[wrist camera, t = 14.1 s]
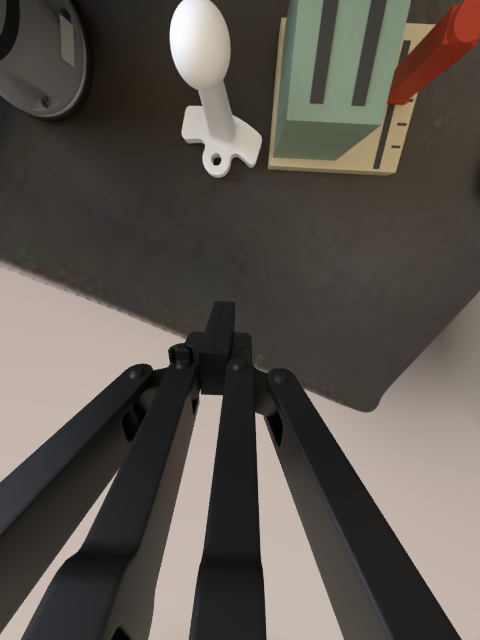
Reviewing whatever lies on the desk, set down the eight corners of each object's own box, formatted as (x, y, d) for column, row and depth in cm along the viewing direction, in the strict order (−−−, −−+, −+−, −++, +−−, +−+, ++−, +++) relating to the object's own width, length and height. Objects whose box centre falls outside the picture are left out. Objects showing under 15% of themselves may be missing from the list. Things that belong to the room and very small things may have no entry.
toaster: (387, 175, 34) (475, 142, 21) (267, 169, 34) (279, 132, 21) (425, 29, 28) (585, -149, 15) (279, 23, 28) (308, -159, 15)
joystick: (264, 134, 33) (286, 12, 14) (247, 190, 35) (247, 149, 17) (191, 104, 32) (113, -70, 13) (180, 164, 34) (102, 90, 16)
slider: (404, 106, 29) (484, 43, 19) (379, 105, 29) (447, 41, 19) (412, 75, 28) (502, -9, 18) (386, 74, 28) (462, -11, 18)
